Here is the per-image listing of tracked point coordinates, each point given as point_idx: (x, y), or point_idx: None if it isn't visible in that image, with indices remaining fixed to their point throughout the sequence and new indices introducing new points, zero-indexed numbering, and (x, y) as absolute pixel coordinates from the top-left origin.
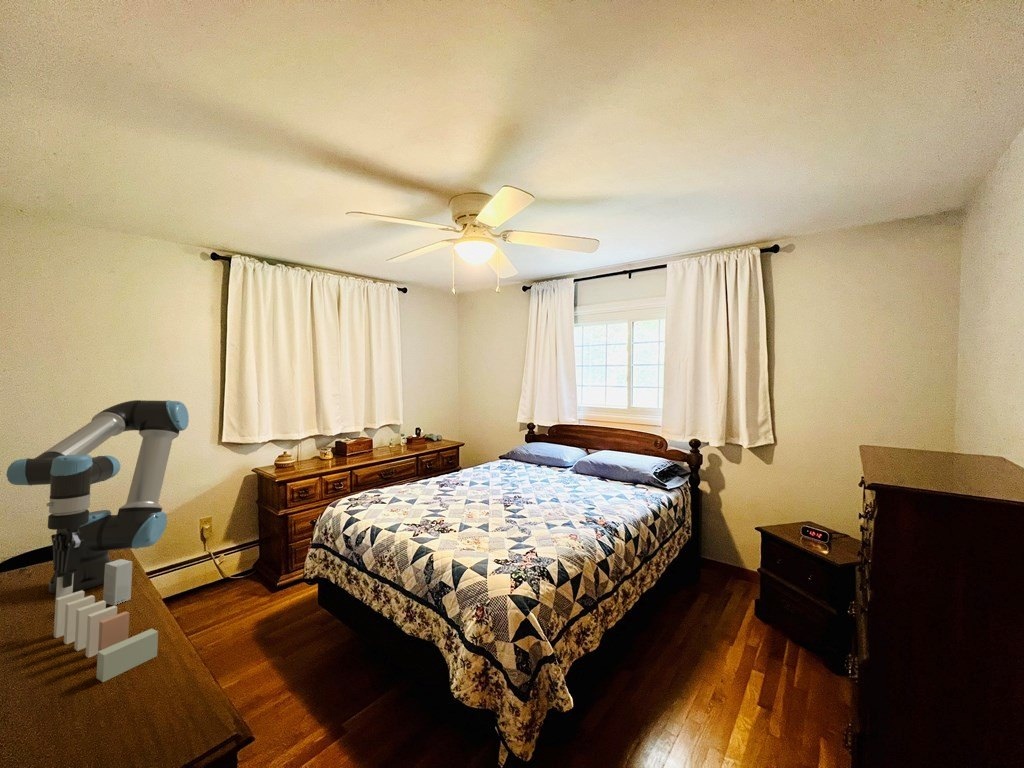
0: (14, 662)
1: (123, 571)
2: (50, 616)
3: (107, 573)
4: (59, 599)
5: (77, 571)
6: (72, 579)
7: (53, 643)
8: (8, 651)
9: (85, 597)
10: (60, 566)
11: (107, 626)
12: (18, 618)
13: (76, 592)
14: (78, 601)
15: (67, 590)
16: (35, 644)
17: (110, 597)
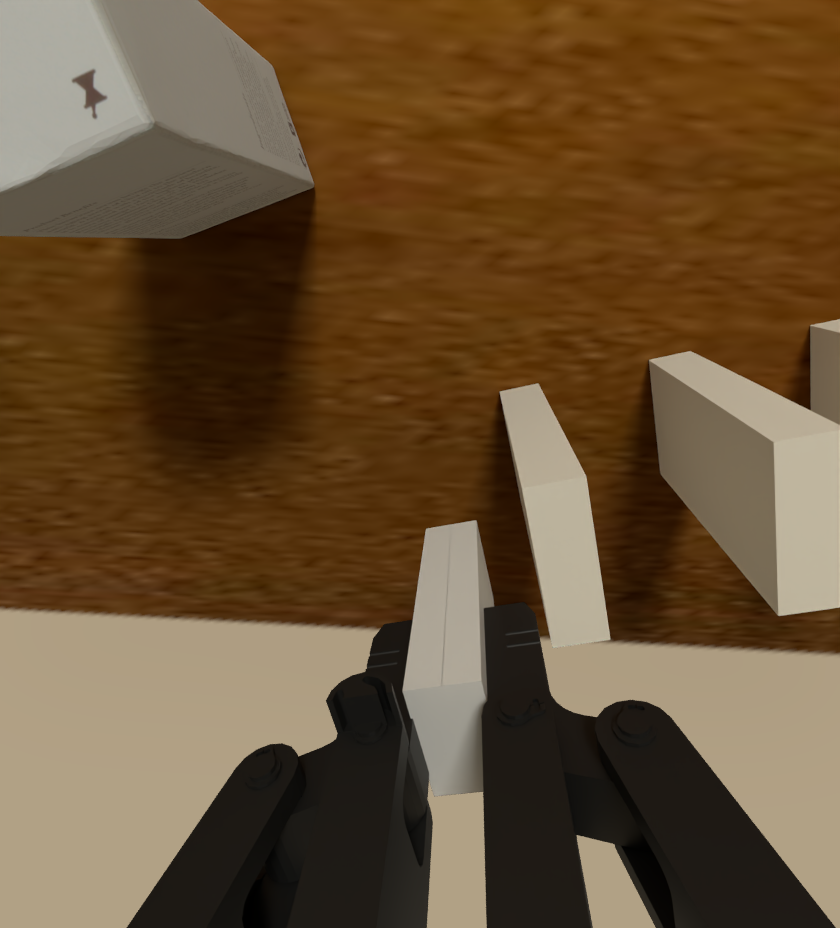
0: (680, 630)
1: (166, 51)
2: (197, 484)
3: (60, 215)
4: (605, 633)
5: (665, 714)
6: (477, 626)
7: (617, 507)
8: None
9: (776, 491)
10: (426, 901)
11: None
12: (111, 586)
13: (545, 527)
14: (831, 545)
15: (484, 591)
16: None
17: (247, 202)
